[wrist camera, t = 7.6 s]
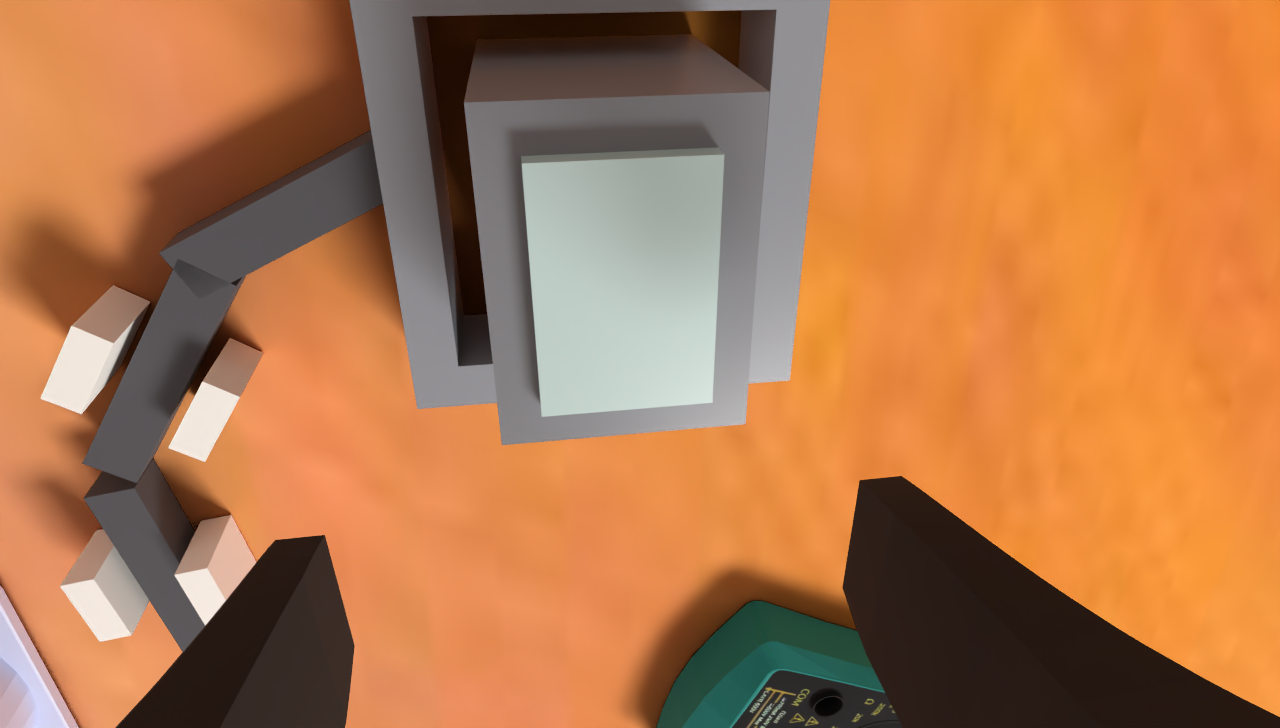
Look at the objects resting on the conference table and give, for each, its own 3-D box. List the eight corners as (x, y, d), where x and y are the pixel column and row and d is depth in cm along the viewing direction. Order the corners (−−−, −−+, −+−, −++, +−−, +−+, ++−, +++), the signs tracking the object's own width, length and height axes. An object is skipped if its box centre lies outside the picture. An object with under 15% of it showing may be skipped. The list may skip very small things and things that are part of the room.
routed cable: (30, 594, 22) (-11, 653, 20) (155, 23, 16) (112, 38, 14) (240, 637, 24) (219, 695, 22) (427, 141, 17) (419, 168, 16)
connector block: (503, 301, 20) (502, 458, 14) (476, 39, 17) (462, 109, 11) (684, 290, 20) (750, 436, 15) (691, 33, 17) (777, 97, 12)
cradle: (426, 354, 20) (417, 408, 18) (361, -73, 15) (337, -70, 13) (760, 331, 21) (789, 380, 19) (794, -76, 16) (837, -72, 14)
